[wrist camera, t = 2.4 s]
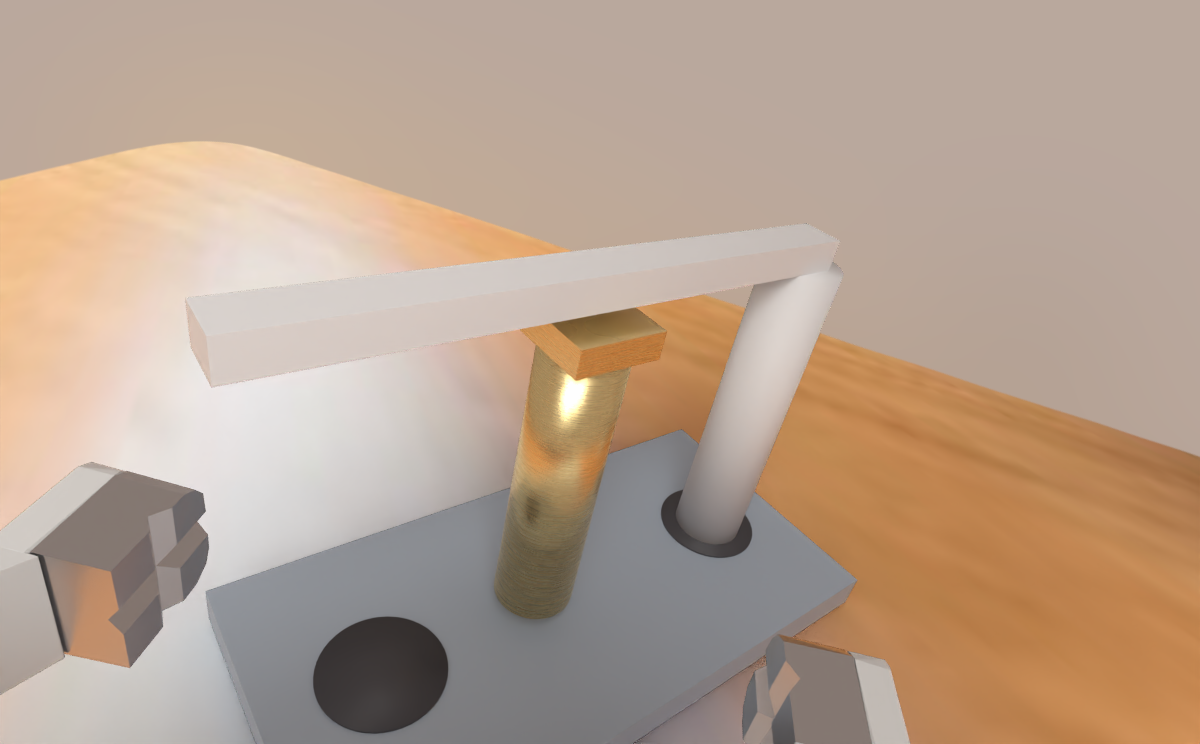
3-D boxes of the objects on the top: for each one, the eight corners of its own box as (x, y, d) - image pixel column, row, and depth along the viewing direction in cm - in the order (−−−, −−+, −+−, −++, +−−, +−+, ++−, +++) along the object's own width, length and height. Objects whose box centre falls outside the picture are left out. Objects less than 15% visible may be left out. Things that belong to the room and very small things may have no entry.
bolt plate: (674, 450, 41) (764, 171, 33) (845, 601, 34) (1017, 293, 26) (194, 624, 27) (131, 201, 18) (312, 956, 19) (301, 509, 11)
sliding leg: (542, 553, 30) (602, 282, 24) (588, 608, 28) (667, 331, 22) (474, 581, 28) (518, 295, 22) (518, 643, 26) (581, 350, 20)
